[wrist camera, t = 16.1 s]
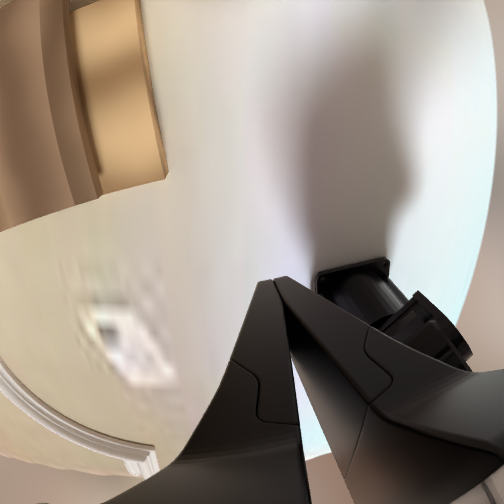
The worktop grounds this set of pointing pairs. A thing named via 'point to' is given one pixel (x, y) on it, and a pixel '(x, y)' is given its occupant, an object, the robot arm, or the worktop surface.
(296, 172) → the worktop surface
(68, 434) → the molding
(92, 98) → the oak plank
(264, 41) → the worktop surface
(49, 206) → the laid planks
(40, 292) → the worktop surface
